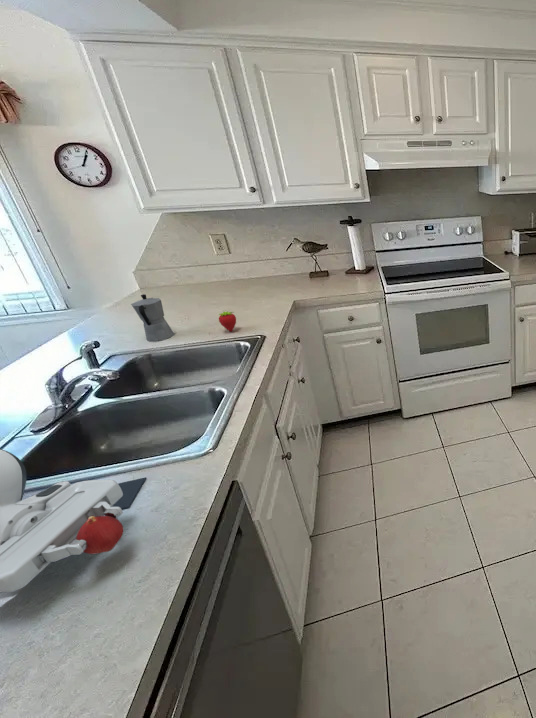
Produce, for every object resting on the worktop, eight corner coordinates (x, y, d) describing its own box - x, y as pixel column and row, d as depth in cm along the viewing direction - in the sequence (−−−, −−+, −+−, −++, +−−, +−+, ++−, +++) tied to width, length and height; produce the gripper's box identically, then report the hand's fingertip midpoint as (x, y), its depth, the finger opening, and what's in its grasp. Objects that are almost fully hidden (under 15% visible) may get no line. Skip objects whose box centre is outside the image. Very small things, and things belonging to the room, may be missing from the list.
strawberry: (237, 326, 173) (230, 304, 169) (241, 332, 168) (234, 309, 163) (221, 330, 169) (213, 307, 165) (224, 336, 164) (216, 312, 160)
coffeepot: (150, 333, 169) (132, 291, 161) (178, 329, 172) (161, 288, 165) (140, 348, 156) (120, 303, 148) (170, 342, 160) (152, 299, 152)
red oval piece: (79, 559, 71) (57, 526, 67) (115, 532, 76) (97, 500, 72) (101, 568, 69) (80, 534, 66) (138, 540, 74) (119, 507, 71)
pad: (62, 523, 81) (61, 522, 81) (86, 491, 89) (85, 490, 89) (129, 508, 85) (128, 506, 84) (146, 478, 92) (146, 477, 92)
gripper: (-64, 575, 60) (30, 573, 60) (68, 474, 78) (141, 473, 78) (-39, 602, 62) (51, 601, 62) (83, 499, 81) (153, 497, 81)
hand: (102, 529), depth 70 cm, fingers closed on red oval piece, 5 cm apart
